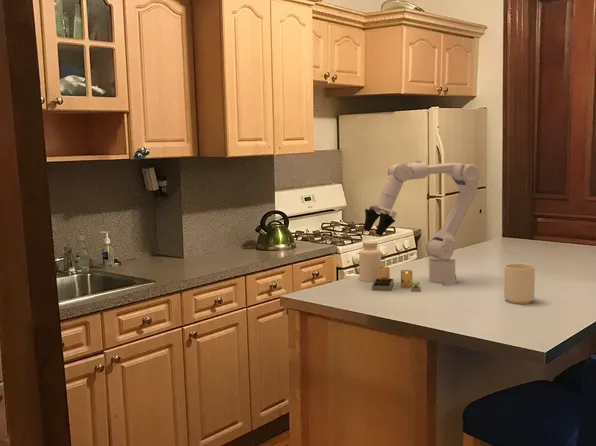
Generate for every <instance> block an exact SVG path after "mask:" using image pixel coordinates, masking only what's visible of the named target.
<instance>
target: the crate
mask: <svg viewBox="0 0 596 446" xmlns="http://www.w3.org/2000/svg"><path fill="white" fill-rule="evenodd" d="M394 281H395V279H394V278H390V282H378V278H376V280H375V282H372V283H373V284H372V286H371V287H372V288H371V291H378V292H379V291H380V292H381V291H382V292H384V291H386V292H392V290H393V288H394V286H395V282H394Z"/></svg>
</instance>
